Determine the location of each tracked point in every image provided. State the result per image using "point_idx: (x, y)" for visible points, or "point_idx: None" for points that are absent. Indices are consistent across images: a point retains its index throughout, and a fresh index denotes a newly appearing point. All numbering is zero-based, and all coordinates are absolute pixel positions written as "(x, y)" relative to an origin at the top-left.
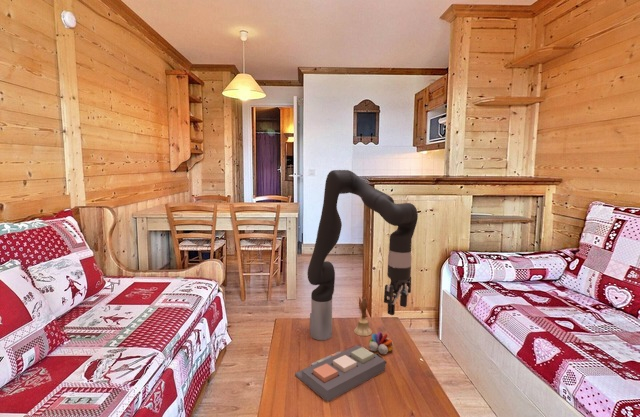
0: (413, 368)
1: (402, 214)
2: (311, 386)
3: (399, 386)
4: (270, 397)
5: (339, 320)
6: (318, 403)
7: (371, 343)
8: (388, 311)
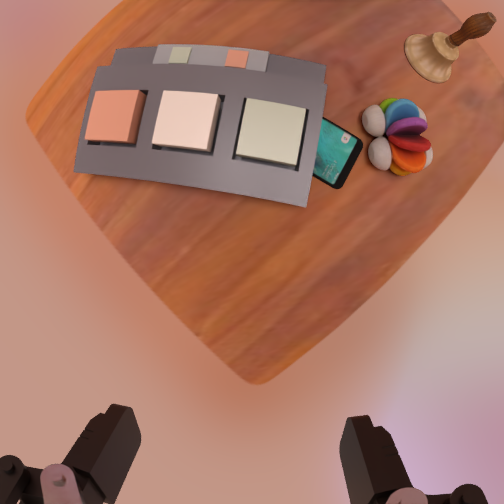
0: (363, 265)
1: None
2: None
3: (259, 274)
4: (46, 87)
5: None
6: None
7: (372, 113)
8: (91, 428)
